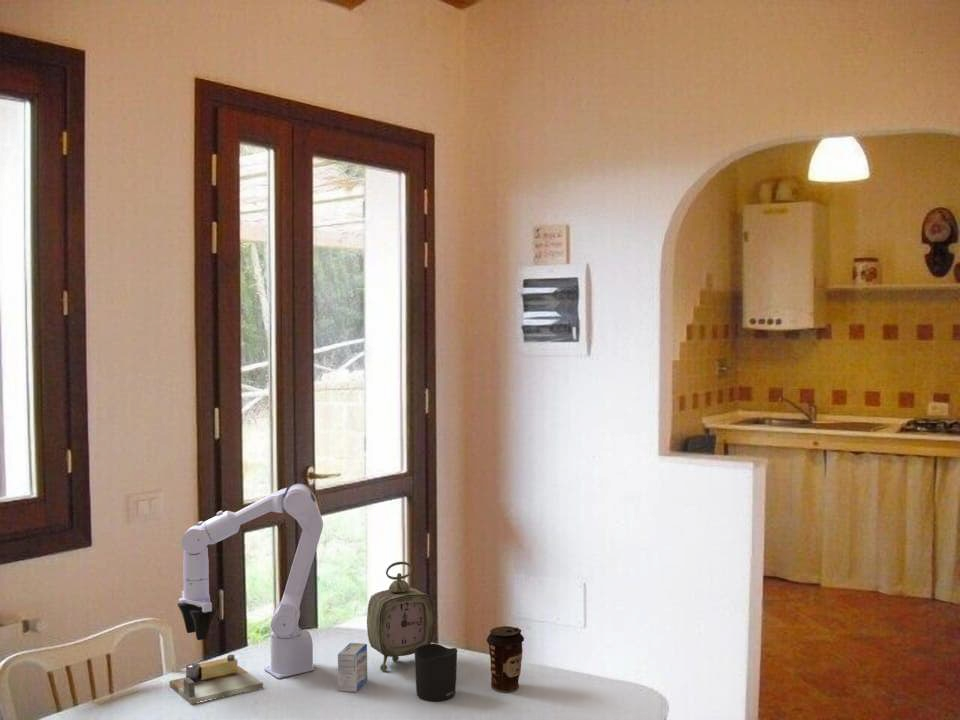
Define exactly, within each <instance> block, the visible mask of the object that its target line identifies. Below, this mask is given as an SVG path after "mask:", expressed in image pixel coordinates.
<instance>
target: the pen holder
mask: <svg viewBox="0 0 960 720" xmlns="http://www.w3.org/2000/svg"><path fill="white" fill-rule="evenodd" d="M457 663H458V648H456V647H452V648H451V647H450V648H449V647H446V646H443V645H441V644H438V643H431V644H425V645H421V646H419V647H417V648H416V649H415V653H414V667H415V668H414V669H415V689H416V691H415V692H416V696H417V697H418V698H419V699H420V700H423V701H425V702H444V701H448V700H451V699H452V698H454V696H455V695H456V691H457V690H456V689H457V665H458V664H457Z"/></svg>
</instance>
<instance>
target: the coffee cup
mask: <svg viewBox="0 0 960 720" xmlns="http://www.w3.org/2000/svg"><path fill="white" fill-rule="evenodd" d="M521 633H522V629H520V628H519V627H514V626H506V625H504V626H497V627H494V628H492V629H491V630H490V631H489V635H487V638H486V642H487V644H488V648H489V651H488V652H489V659H490V673H491V674H490V675H491V683H490V686H491V687H490V688H491V689H492V690H494V691H496V692H501V693H506V692H514V691H516V690H518V689H519V688H520V684H519V683H520V682H519V679H520V674H521V671H522V669H521V668H522V660H523V642H524V641H525V637H524V636H523V634H521Z"/></svg>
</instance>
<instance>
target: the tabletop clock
mask: <svg viewBox="0 0 960 720" xmlns="http://www.w3.org/2000/svg"><path fill="white" fill-rule="evenodd" d="M399 565H405V566H408V567H409V569H410V571H409V572H408V573H405V575H404V574H403V575H402V573H400V572H398V573H397V574H396V576H390V575H389V573H388V572H389V571H390V570H391V569H392V568H394V567H395V566H399ZM412 572H413V567H412V564H410V562H406V561H395V562H393V563H391V564H390V565H389V566H388V567H387V568H386V571H385V575H386V577H387V578H388V579H390V580H392V581H391V583H390V584H389V587H388V589H385V590H381V591H378V592H376V593H374V594H372V595H371V596H370V597H369V601H368V603H367V614H366V627H367V628H366V629H367V630H366V631H367V632H366V633H367V638H368V642H369V645H370V647H371V648H372V649H374V650H376V651H377V652H378V653H380V654H382V655H383V663H382V664H380V666H379V668H380V671H382V672H385V671H387V669H388V666H387V664H386V663H387V661H388V658H389V657H390V658H392V659H391V661H393V662H394V663H397V662H398V661H399V660H400V658H399V657H403V656H410V655H415V649H416V648H417V647H419V646H421V645H425V644H432V642H433V638H434V627H435V625H434V623H435V619H434V618H435V616H434V607H433V602H432V599H431V596H430V595H428V594H426V593H424V592H422V591H421V590H419V589H416V588H414V587H410V585H409V583H408V582H407V581H406V580H404V579H406V578H408V577H409V576H410V575H411V574H412Z"/></svg>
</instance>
